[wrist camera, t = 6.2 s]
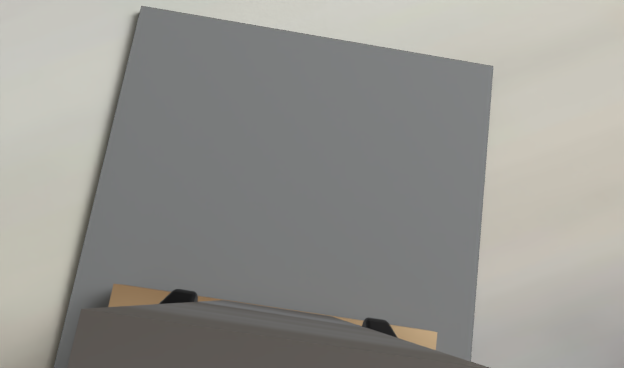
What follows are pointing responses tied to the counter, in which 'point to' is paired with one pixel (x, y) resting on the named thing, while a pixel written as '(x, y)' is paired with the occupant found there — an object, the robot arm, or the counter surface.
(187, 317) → the wooden base with post
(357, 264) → the lane mat
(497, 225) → the counter surface
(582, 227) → the counter surface
